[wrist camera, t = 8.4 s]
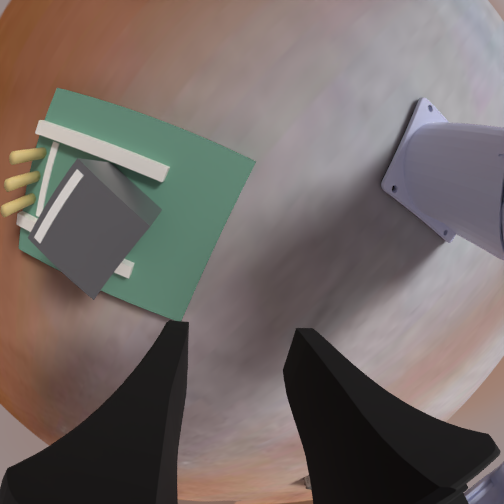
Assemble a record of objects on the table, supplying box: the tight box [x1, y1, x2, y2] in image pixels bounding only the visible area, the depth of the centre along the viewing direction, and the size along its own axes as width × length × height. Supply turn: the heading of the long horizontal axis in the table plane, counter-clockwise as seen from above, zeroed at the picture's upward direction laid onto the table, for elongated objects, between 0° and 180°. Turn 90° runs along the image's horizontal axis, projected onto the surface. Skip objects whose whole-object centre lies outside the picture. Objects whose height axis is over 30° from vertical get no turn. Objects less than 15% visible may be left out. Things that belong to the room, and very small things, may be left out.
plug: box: [28, 158, 162, 300], centre depth 11 cm, size 4×4×5 cm
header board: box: [1, 88, 256, 321], centre depth 13 cm, size 13×11×4 cm
